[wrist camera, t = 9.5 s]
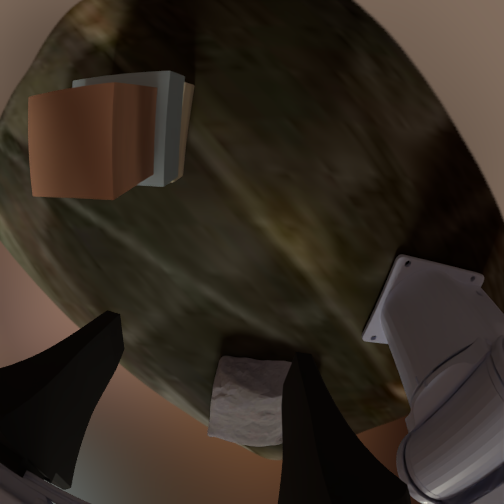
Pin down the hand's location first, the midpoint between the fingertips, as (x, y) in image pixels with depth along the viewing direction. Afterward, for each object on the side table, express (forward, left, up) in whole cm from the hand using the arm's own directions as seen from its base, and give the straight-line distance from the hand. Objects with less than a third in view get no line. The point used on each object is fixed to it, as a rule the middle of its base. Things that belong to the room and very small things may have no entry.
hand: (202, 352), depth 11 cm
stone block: (-5, +16, -11) cm, 20 cm away
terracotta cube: (+7, -7, -6) cm, 12 cm away
